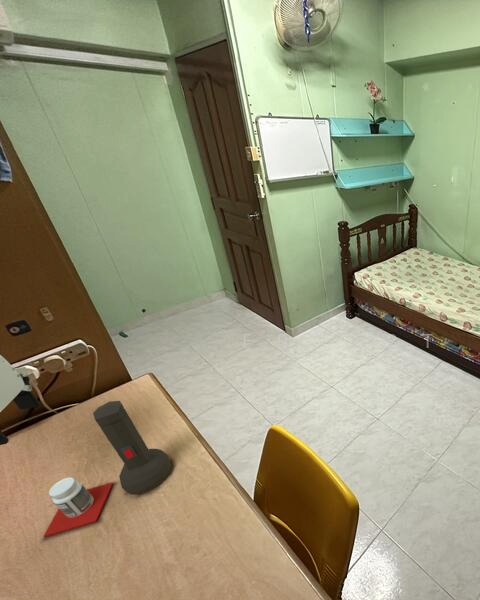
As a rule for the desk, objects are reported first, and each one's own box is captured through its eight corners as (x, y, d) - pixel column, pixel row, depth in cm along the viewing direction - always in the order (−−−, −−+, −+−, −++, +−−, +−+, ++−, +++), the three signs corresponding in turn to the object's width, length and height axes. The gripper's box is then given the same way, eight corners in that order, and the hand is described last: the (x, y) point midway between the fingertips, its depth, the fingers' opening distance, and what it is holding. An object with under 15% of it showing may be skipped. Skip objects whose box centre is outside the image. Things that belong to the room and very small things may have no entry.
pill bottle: (93, 492, 74) (76, 470, 70) (95, 507, 71) (77, 486, 67) (65, 506, 71) (46, 485, 67) (66, 523, 68) (46, 502, 64)
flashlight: (126, 469, 80) (121, 504, 72) (79, 399, 68) (68, 433, 60) (172, 451, 84) (172, 481, 77) (136, 382, 72) (132, 411, 65)
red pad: (44, 537, 66) (43, 536, 66) (67, 496, 74) (66, 494, 73) (96, 522, 69) (95, 520, 69) (113, 483, 77) (112, 482, 76)
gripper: (-27, 337, 62) (20, 398, 71) (-117, 399, 48) (-45, 467, 56) (22, 331, 65) (62, 391, 73) (-51, 389, 50) (9, 456, 59)
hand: (15, 424), depth 65 cm, fingers open, 9 cm apart
